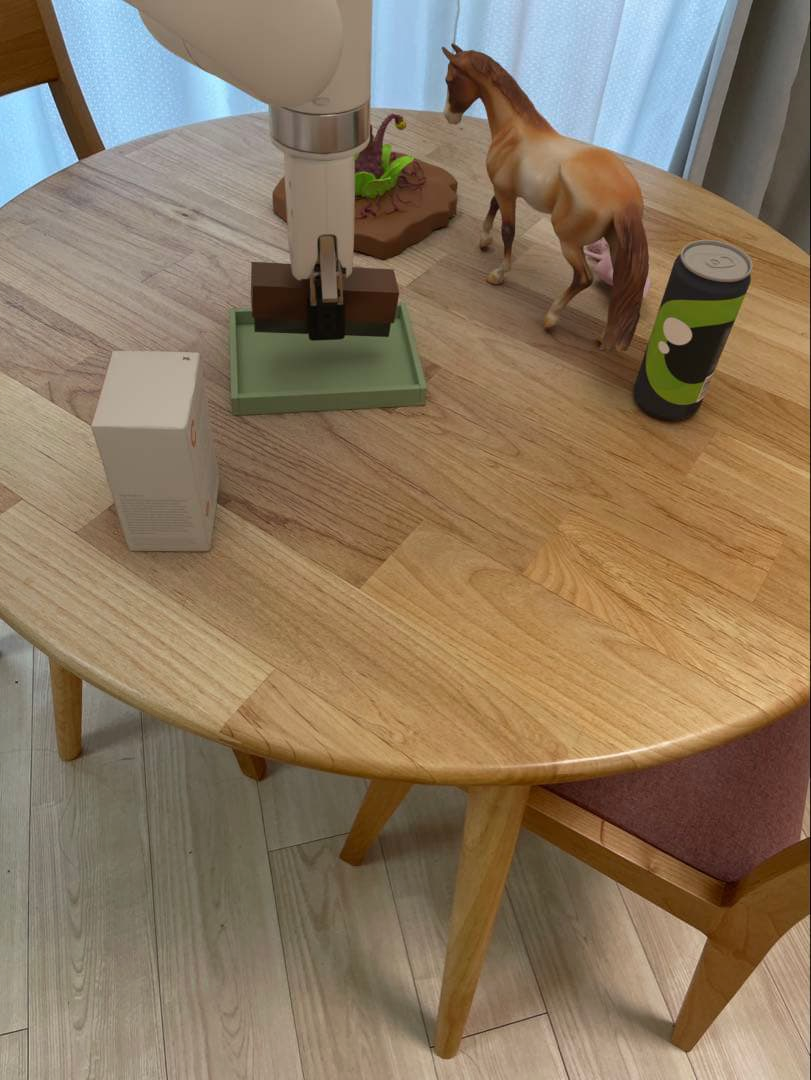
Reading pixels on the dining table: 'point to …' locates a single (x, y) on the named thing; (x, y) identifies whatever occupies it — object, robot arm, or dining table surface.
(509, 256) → the horse figurine
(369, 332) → the brown wooden block
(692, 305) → the beverage can
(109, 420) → the small box
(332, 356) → the tray
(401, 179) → the plant
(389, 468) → the dining table surface
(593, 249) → the rabbit figure
